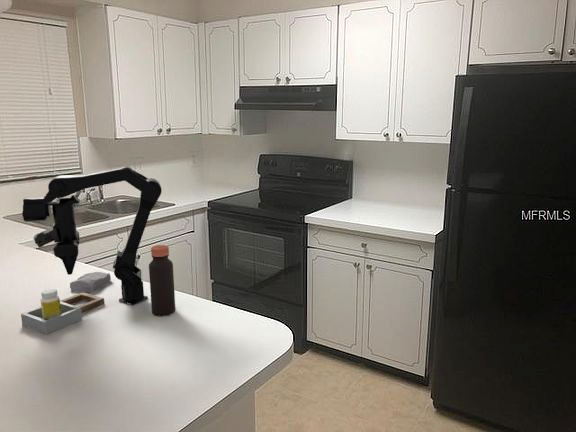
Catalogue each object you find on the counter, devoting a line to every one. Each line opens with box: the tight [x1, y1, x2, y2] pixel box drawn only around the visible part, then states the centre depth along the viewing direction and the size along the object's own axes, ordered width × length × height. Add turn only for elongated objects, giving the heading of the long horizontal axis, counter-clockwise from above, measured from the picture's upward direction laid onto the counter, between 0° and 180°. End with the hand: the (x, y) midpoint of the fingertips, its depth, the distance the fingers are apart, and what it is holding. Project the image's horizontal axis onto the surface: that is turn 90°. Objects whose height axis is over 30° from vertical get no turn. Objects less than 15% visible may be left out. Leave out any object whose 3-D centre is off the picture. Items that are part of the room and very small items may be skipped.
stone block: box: [69, 271, 112, 293], centre depth 162 cm, size 12×5×10 cm
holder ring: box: [60, 292, 105, 314], centre depth 145 cm, size 10×10×2 cm
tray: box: [20, 301, 83, 335], centre depth 134 cm, size 11×11×4 cm
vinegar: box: [148, 244, 176, 317], centre depth 139 cm, size 7×7×20 cm
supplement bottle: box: [40, 288, 61, 320], centre depth 133 cm, size 5×5×8 cm
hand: (70, 269), depth 143 cm, fingers open, 9 cm apart
